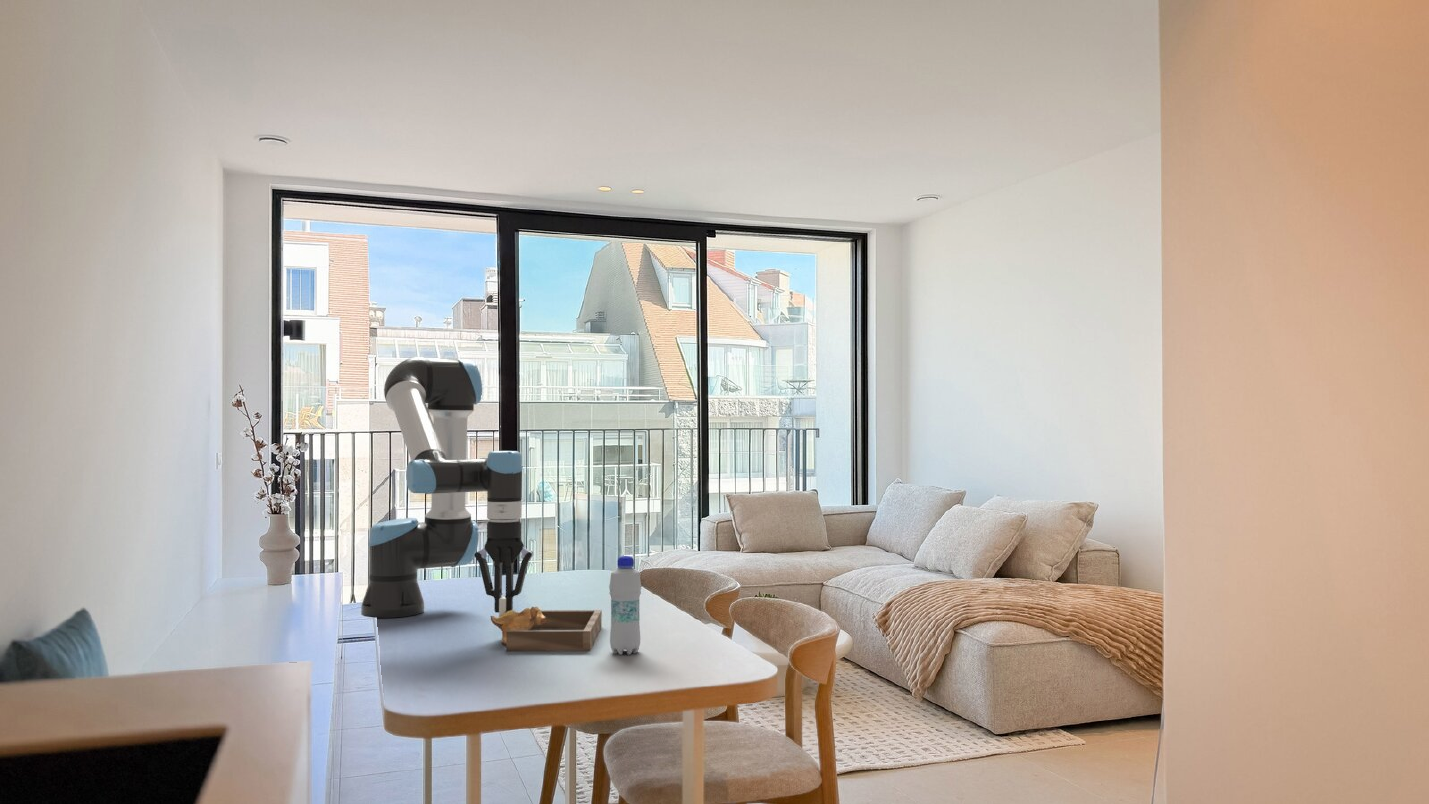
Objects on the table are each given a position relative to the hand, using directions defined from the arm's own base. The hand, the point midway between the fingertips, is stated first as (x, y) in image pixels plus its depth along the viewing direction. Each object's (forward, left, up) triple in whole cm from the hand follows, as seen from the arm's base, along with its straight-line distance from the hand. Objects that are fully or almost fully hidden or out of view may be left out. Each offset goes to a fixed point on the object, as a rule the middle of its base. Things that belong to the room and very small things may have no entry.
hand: (503, 627), depth 217 cm
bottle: (+14, +28, -3) cm, 31 cm away
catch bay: (0, +11, -3) cm, 11 cm away
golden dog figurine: (+4, +4, -3) cm, 7 cm away
